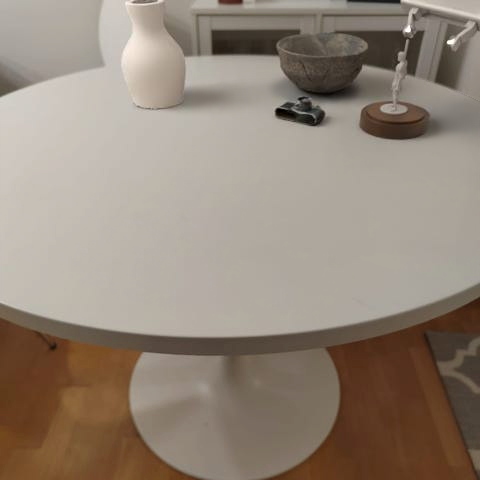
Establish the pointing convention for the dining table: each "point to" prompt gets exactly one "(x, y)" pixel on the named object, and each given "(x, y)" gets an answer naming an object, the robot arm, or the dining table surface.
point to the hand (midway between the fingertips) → (427, 41)
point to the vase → (152, 58)
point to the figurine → (397, 86)
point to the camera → (300, 111)
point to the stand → (394, 121)
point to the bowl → (321, 60)
